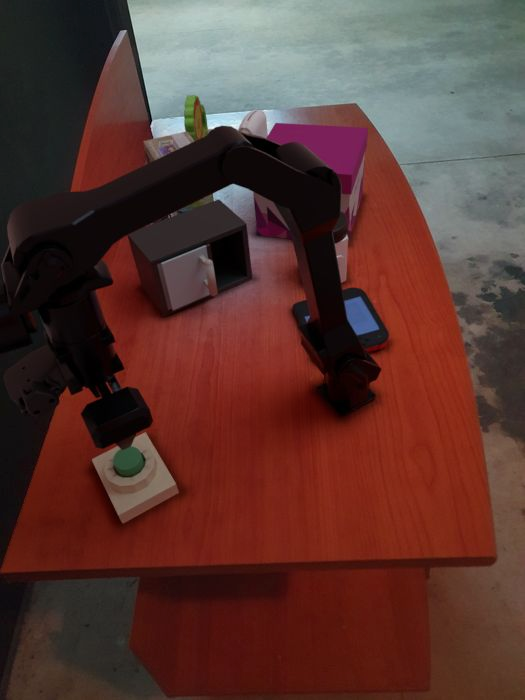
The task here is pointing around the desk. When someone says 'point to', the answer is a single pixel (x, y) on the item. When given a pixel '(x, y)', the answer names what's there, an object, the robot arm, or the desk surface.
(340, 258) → the jar
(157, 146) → the tea box
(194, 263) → the gray cabinet door
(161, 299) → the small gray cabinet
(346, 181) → the decorative box
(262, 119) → the photo printer
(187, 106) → the toy lion
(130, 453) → the button
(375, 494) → the desk surface
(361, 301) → the game console
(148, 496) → the button block
